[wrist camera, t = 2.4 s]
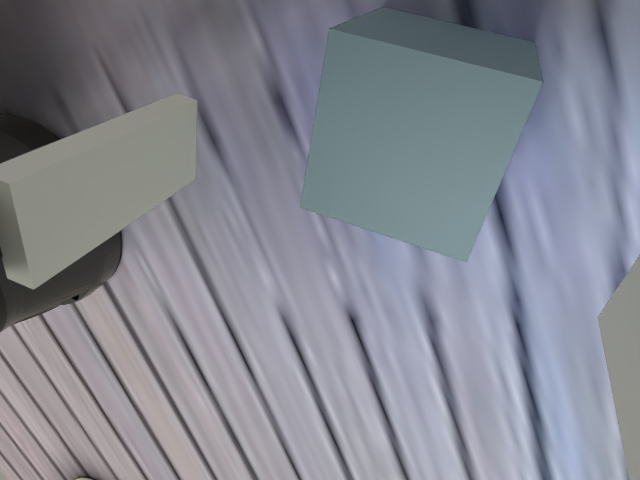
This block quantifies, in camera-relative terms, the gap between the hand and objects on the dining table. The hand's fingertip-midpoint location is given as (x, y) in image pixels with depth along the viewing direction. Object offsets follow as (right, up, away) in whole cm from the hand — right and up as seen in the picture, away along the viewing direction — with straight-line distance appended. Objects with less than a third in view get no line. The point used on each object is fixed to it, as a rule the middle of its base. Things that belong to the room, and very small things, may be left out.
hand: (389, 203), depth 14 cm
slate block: (+4, +6, +10) cm, 12 cm away
